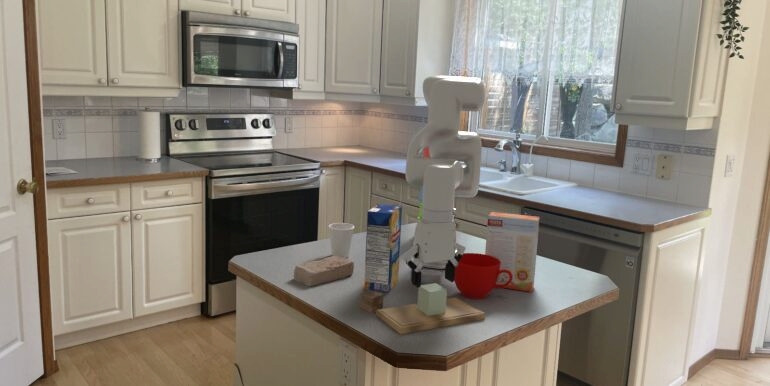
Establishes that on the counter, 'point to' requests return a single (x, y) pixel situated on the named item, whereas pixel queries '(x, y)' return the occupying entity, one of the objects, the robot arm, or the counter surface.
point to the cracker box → (513, 247)
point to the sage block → (432, 299)
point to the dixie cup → (341, 239)
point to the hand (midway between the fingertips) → (432, 282)
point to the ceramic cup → (478, 275)
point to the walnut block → (371, 301)
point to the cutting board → (416, 320)
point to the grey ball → (430, 276)
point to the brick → (323, 270)
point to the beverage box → (382, 247)
